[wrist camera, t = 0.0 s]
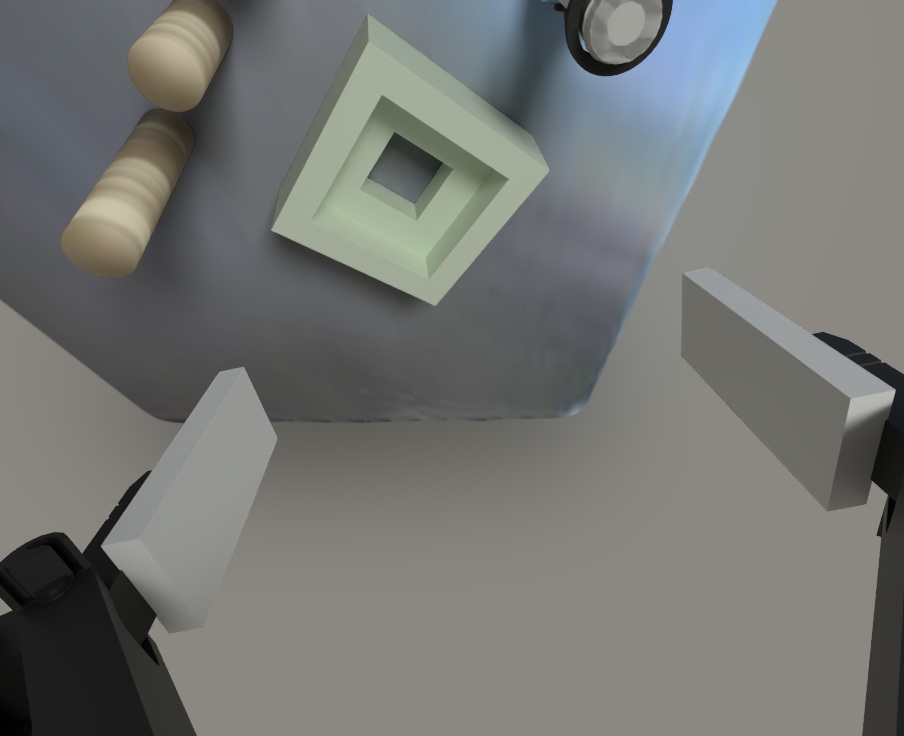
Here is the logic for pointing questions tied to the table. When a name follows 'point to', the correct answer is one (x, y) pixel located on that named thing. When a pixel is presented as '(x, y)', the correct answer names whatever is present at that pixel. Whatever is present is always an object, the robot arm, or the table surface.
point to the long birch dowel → (129, 197)
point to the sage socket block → (384, 212)
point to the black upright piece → (613, 31)
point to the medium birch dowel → (180, 53)
